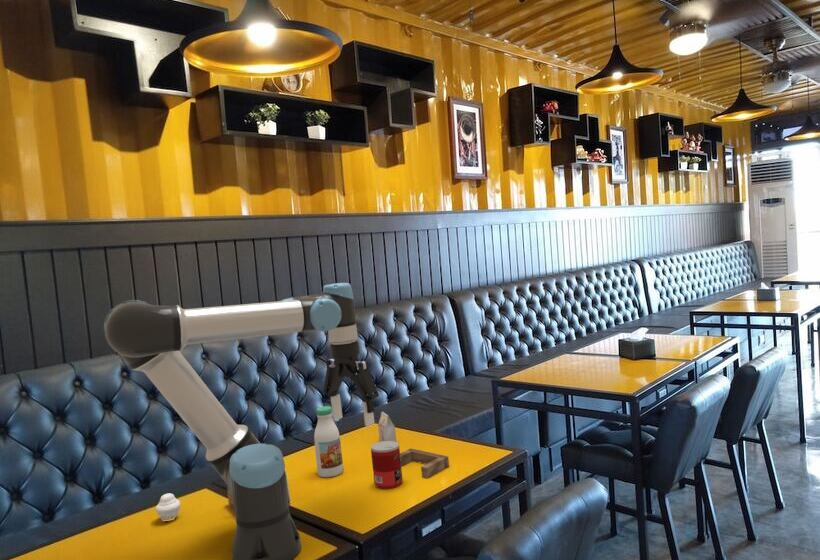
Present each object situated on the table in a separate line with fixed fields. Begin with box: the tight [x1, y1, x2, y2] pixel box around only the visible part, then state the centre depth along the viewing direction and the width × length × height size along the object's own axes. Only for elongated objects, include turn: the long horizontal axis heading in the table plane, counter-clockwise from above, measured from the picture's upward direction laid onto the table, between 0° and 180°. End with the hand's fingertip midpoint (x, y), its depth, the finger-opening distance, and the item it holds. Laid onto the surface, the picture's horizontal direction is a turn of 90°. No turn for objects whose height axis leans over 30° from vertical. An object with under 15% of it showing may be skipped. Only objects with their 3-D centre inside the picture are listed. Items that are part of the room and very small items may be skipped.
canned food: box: [370, 441, 403, 490], centre depth 165 cm, size 8×8×11 cm
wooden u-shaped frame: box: [400, 448, 450, 479], centre depth 175 cm, size 10×15×3 cm, turn 48°
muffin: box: [155, 492, 181, 521], centre depth 156 cm, size 6×6×7 cm
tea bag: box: [377, 411, 397, 442], centre depth 200 cm, size 4×7×10 cm, turn 22°
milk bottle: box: [313, 405, 344, 478], centre depth 177 cm, size 8×8×20 cm
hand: (353, 421), depth 157 cm, fingers open, 12 cm apart
